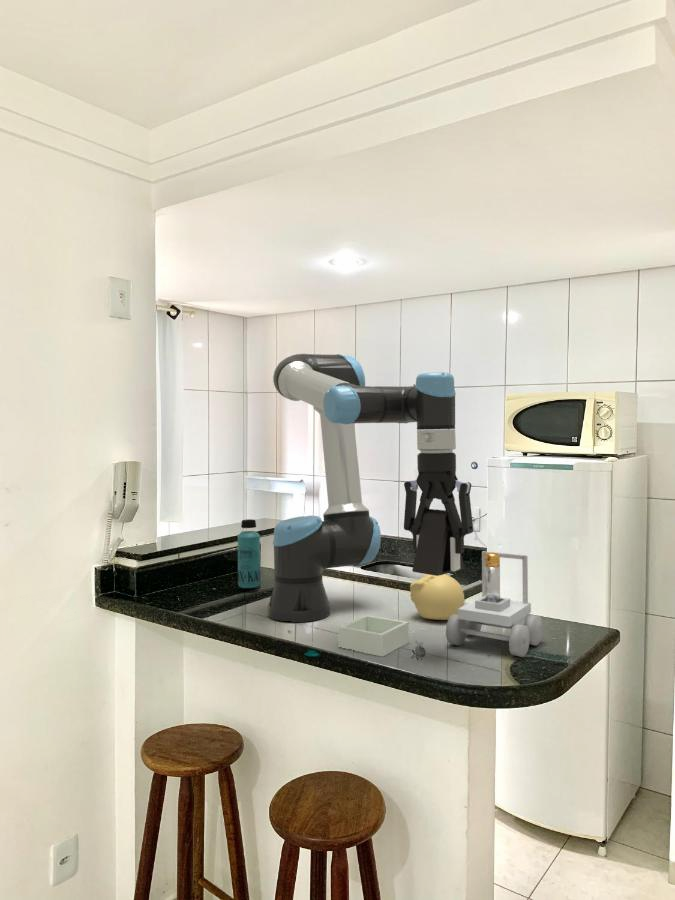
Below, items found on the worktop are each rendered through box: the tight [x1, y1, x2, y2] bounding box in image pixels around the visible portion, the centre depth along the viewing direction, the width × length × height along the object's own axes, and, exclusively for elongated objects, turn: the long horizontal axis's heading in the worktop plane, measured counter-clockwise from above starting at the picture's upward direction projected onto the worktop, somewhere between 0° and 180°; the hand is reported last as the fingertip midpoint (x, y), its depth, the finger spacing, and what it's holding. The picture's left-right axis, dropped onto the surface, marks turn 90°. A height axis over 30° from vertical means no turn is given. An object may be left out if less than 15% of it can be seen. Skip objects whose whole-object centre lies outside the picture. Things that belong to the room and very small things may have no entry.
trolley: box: [445, 551, 544, 658], centre depth 143 cm, size 15×14×18 cm
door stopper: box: [411, 508, 465, 576], centre depth 137 cm, size 9×6×12 cm, turn 134°
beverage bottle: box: [237, 518, 262, 589], centre depth 194 cm, size 6×7×20 cm
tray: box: [338, 614, 410, 658], centre depth 145 cm, size 11×11×4 cm
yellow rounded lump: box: [409, 573, 465, 621], centre depth 164 cm, size 11×12×11 cm
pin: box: [485, 551, 501, 603], centre depth 142 cm, size 3×3×11 cm
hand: (438, 567), depth 137 cm, fingers closed on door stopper, 7 cm apart
